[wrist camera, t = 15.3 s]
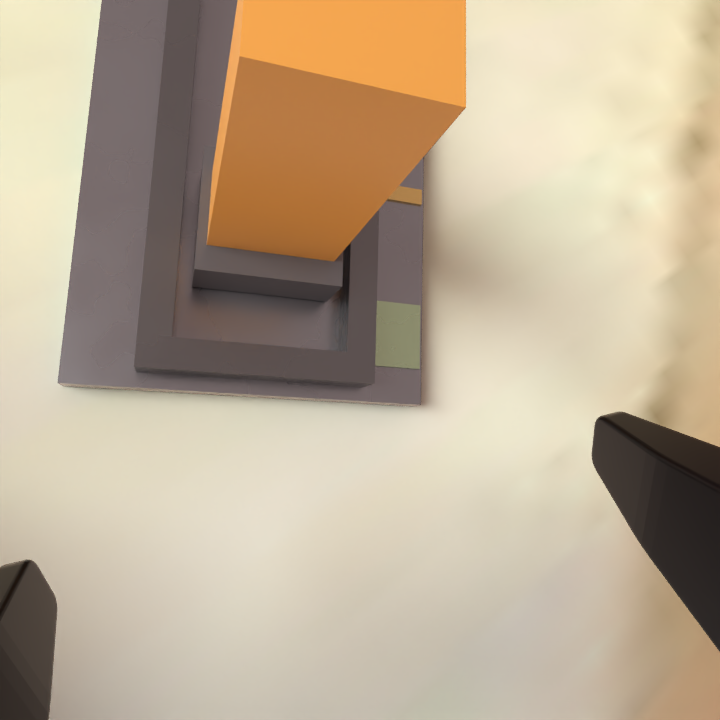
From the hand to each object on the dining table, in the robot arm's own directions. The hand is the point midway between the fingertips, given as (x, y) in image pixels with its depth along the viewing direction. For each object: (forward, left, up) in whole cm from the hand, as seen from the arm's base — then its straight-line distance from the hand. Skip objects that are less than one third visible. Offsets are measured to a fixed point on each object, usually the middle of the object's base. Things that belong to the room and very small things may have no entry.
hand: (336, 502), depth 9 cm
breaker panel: (+8, -9, -11) cm, 16 cm away
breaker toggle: (+5, -6, -10) cm, 13 cm away
